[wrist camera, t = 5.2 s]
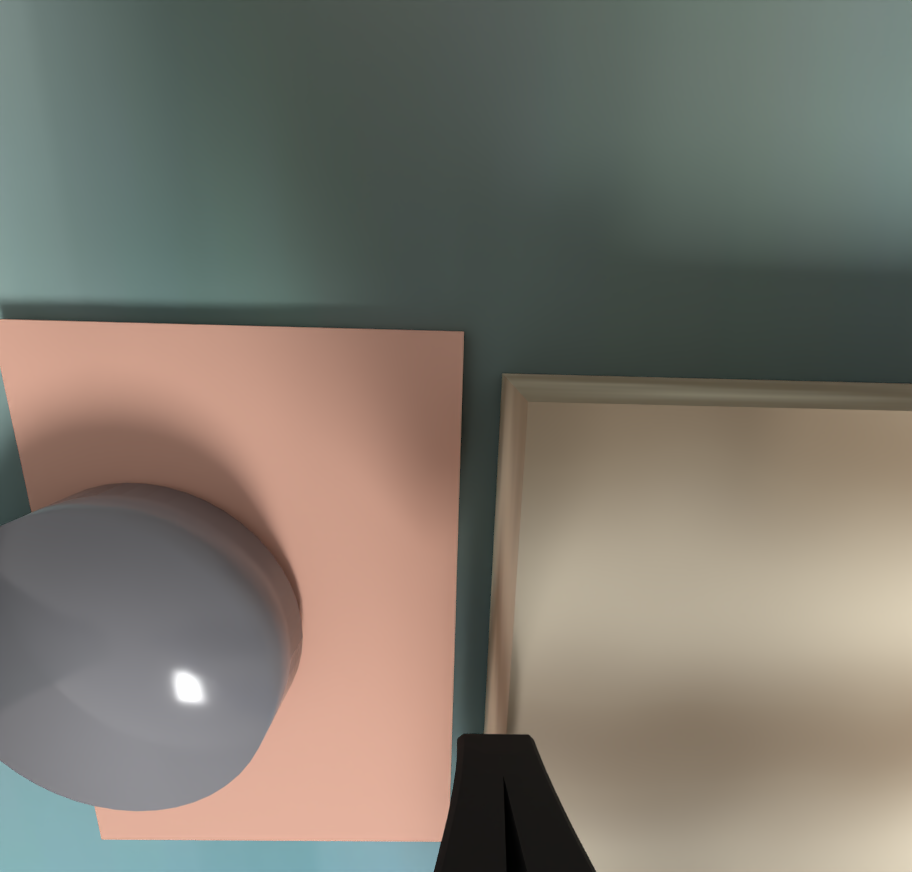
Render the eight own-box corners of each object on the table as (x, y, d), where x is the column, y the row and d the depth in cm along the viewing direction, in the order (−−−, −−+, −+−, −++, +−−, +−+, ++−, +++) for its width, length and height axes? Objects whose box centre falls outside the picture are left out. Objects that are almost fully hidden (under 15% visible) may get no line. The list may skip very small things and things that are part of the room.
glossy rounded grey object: (-12, 809, 12) (56, 740, 14) (293, 812, 11) (320, 741, 13) (-124, 521, 10) (-26, 488, 12) (238, 510, 10) (279, 477, 11)
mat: (448, 828, 15) (448, 841, 15) (110, 826, 15) (101, 839, 15) (463, 331, 11) (464, 331, 11) (5, 319, 11) (-11, 319, 11)
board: (903, 808, 15) (1055, 973, 12) (480, 805, 15) (490, 973, 11) (1048, 387, 12) (1335, 421, 8) (502, 373, 12) (528, 401, 8)
